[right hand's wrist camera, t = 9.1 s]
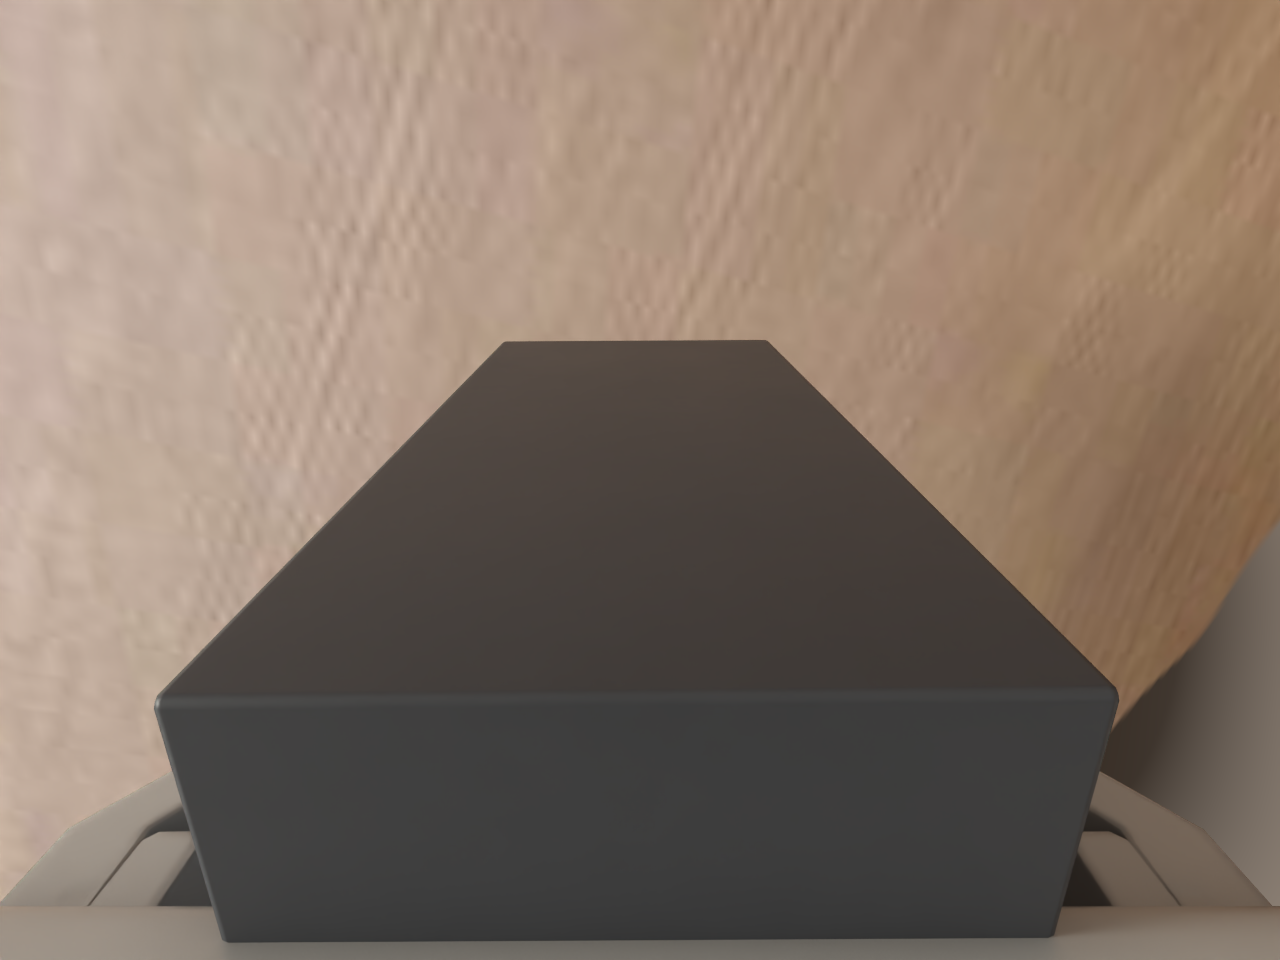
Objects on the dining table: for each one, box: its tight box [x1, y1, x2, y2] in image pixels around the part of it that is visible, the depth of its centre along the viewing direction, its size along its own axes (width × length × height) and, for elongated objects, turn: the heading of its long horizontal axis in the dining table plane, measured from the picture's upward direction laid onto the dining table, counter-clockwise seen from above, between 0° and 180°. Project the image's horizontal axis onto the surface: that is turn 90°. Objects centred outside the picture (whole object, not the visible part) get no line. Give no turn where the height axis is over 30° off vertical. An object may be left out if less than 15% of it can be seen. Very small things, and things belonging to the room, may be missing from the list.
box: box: [154, 340, 1119, 943], centre depth 14 cm, size 22×6×13 cm, turn 0°
